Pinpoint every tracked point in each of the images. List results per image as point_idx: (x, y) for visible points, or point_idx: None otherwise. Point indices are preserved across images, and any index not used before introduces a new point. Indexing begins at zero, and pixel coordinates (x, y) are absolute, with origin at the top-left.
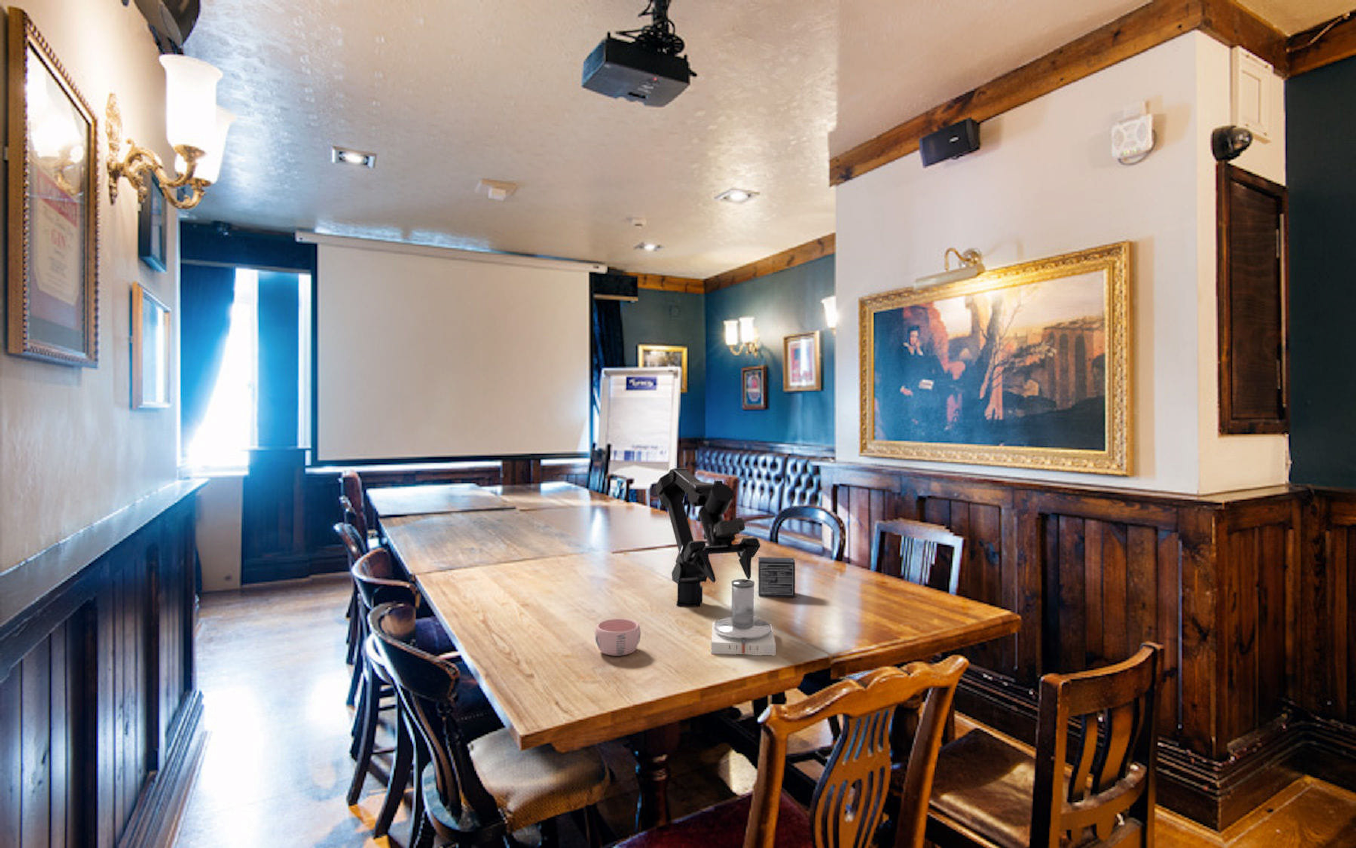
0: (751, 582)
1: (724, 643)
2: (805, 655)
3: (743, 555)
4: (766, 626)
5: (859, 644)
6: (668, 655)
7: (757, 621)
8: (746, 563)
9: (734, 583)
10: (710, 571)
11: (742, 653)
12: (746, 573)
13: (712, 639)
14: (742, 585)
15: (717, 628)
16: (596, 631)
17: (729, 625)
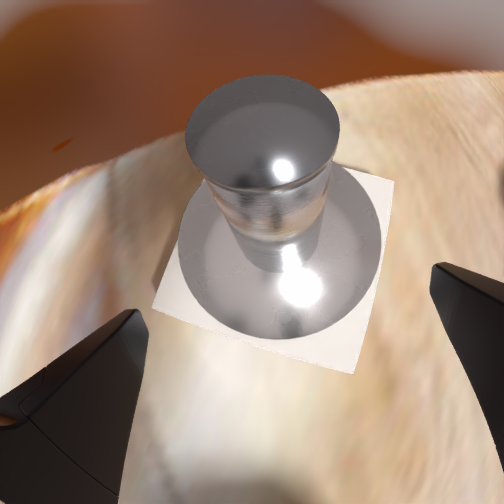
0: (209, 112)
1: (358, 172)
2: (159, 159)
3: (39, 496)
4: (199, 211)
5: (40, 210)
6: (478, 209)
7: (206, 266)
8: (74, 383)
9: (327, 102)
10: (498, 283)
11: None
12: (131, 359)
13: (389, 200)
14: (286, 78)
15: (375, 218)
16: None
17: (327, 239)
